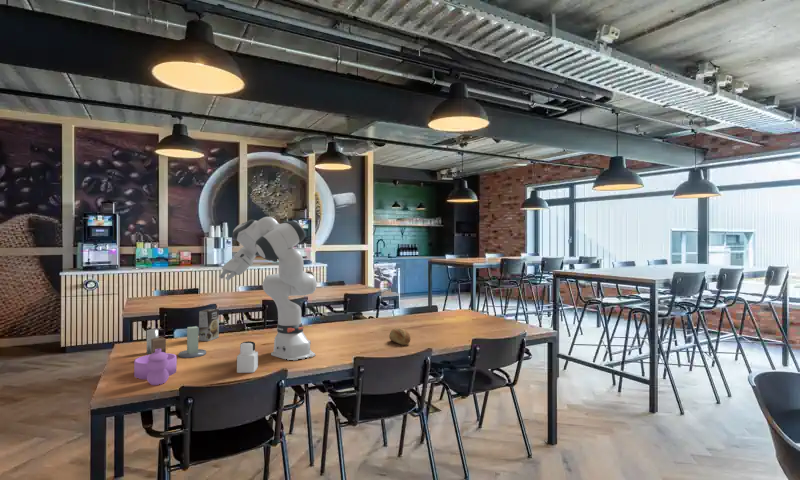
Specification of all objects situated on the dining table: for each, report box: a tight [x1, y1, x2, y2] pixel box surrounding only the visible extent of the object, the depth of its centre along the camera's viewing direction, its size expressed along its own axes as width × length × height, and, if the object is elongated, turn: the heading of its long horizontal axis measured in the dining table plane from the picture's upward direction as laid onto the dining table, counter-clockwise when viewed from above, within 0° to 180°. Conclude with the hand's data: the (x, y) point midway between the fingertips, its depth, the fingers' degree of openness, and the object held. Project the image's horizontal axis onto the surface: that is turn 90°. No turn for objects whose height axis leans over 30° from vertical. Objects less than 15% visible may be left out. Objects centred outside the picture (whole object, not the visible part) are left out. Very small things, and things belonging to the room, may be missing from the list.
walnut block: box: [150, 337, 167, 355], centre depth 203 cm, size 5×5×9 cm
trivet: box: [177, 348, 207, 359], centre depth 210 cm, size 12×12×1 cm
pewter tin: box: [146, 328, 160, 355], centre depth 212 cm, size 5×5×11 cm
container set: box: [133, 349, 178, 386], centre depth 177 cm, size 25×15×13 cm, turn 32°
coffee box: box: [198, 308, 220, 342], centre depth 241 cm, size 9×6×16 cm
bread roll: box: [389, 327, 411, 346], centre depth 237 cm, size 10×15×8 cm, turn 33°
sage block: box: [186, 325, 199, 354], centre depth 210 cm, size 4×4×12 cm
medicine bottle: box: [236, 340, 259, 374], centre depth 187 cm, size 7×7×12 cm
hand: (223, 278), depth 222 cm, fingers open, 8 cm apart
